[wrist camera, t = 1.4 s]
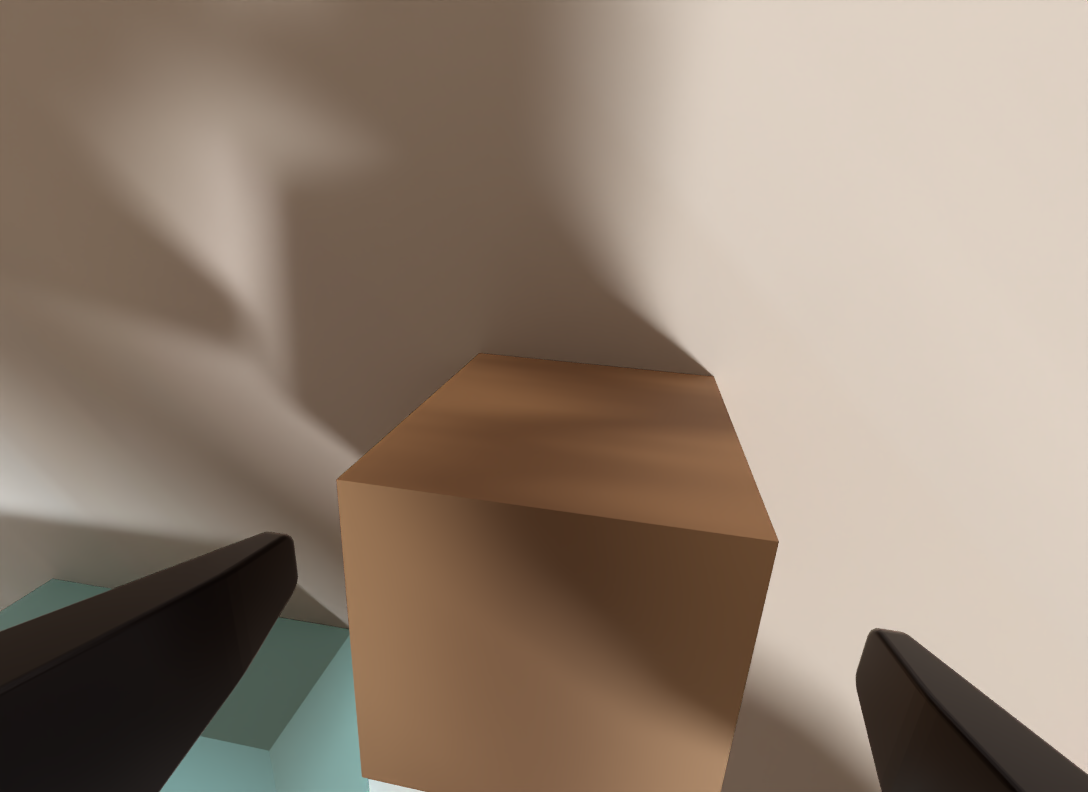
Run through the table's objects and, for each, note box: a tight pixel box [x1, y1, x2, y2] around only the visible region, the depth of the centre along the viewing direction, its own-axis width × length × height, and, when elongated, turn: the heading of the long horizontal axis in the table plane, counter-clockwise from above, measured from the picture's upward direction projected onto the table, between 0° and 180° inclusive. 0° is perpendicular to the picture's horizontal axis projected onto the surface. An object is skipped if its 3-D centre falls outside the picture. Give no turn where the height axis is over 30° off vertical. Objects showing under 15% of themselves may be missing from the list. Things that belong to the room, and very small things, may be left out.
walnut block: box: [336, 353, 779, 792], centre depth 10 cm, size 5×5×6 cm
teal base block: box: [0, 579, 369, 792], centre depth 16 cm, size 10×10×4 cm
